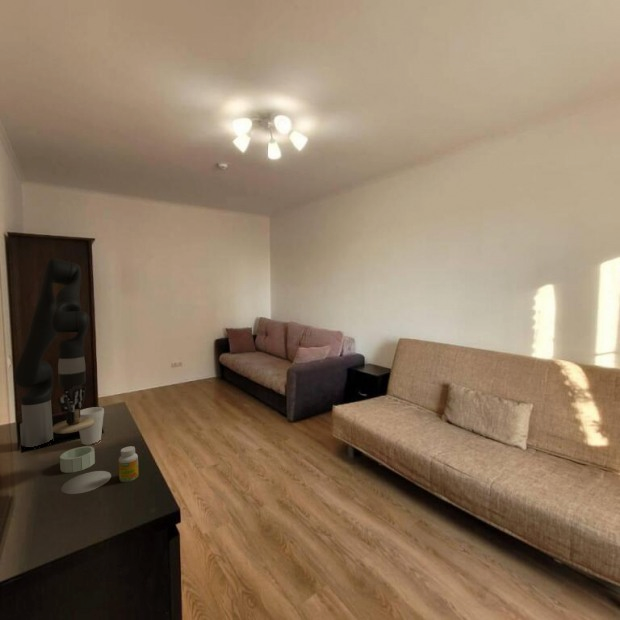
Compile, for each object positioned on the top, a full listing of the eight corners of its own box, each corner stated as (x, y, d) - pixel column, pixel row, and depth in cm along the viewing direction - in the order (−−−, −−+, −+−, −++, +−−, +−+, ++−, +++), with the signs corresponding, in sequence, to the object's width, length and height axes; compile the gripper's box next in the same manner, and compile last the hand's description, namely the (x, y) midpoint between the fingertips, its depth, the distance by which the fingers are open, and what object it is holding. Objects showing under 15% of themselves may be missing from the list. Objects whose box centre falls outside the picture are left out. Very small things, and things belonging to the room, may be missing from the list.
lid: (43, 433, 109) (42, 416, 108) (69, 420, 120) (68, 405, 120) (79, 433, 108) (78, 416, 108) (101, 420, 120) (101, 404, 120)
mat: (50, 496, 99) (50, 494, 99) (79, 473, 112) (79, 471, 112) (95, 495, 99) (95, 493, 99) (119, 472, 112) (119, 470, 112)
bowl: (53, 474, 111) (53, 459, 111) (73, 460, 121) (73, 446, 121) (83, 473, 111) (82, 458, 111) (100, 459, 121) (100, 446, 121)
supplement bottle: (119, 485, 104) (117, 454, 103) (119, 477, 109) (118, 447, 108) (138, 480, 106) (137, 450, 106) (138, 472, 111) (137, 443, 111)
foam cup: (103, 436, 142) (102, 405, 142) (106, 443, 135) (105, 411, 135) (76, 442, 137) (74, 410, 136) (78, 450, 129) (76, 416, 129)
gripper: (73, 374, 107) (75, 428, 108) (93, 365, 121) (95, 413, 122) (47, 375, 106) (48, 430, 107) (70, 366, 120) (72, 414, 121)
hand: (73, 420), depth 114 cm, fingers closed on lid, 3 cm apart
